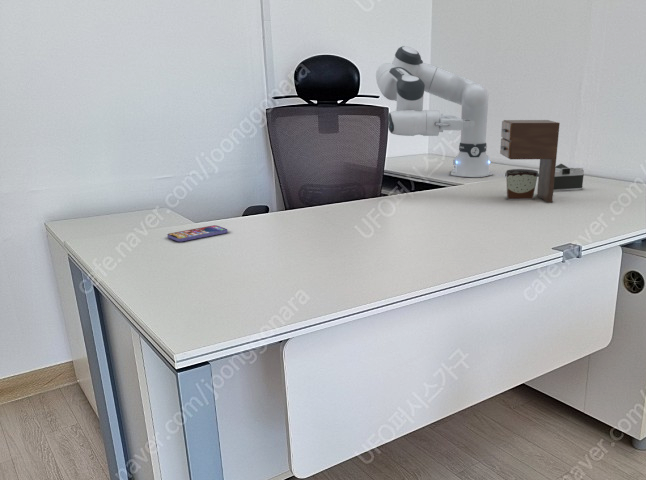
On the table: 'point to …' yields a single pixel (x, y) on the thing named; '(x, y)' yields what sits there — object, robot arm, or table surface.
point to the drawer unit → (533, 148)
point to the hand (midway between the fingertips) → (472, 123)
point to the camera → (568, 178)
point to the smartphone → (197, 233)
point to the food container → (521, 183)
